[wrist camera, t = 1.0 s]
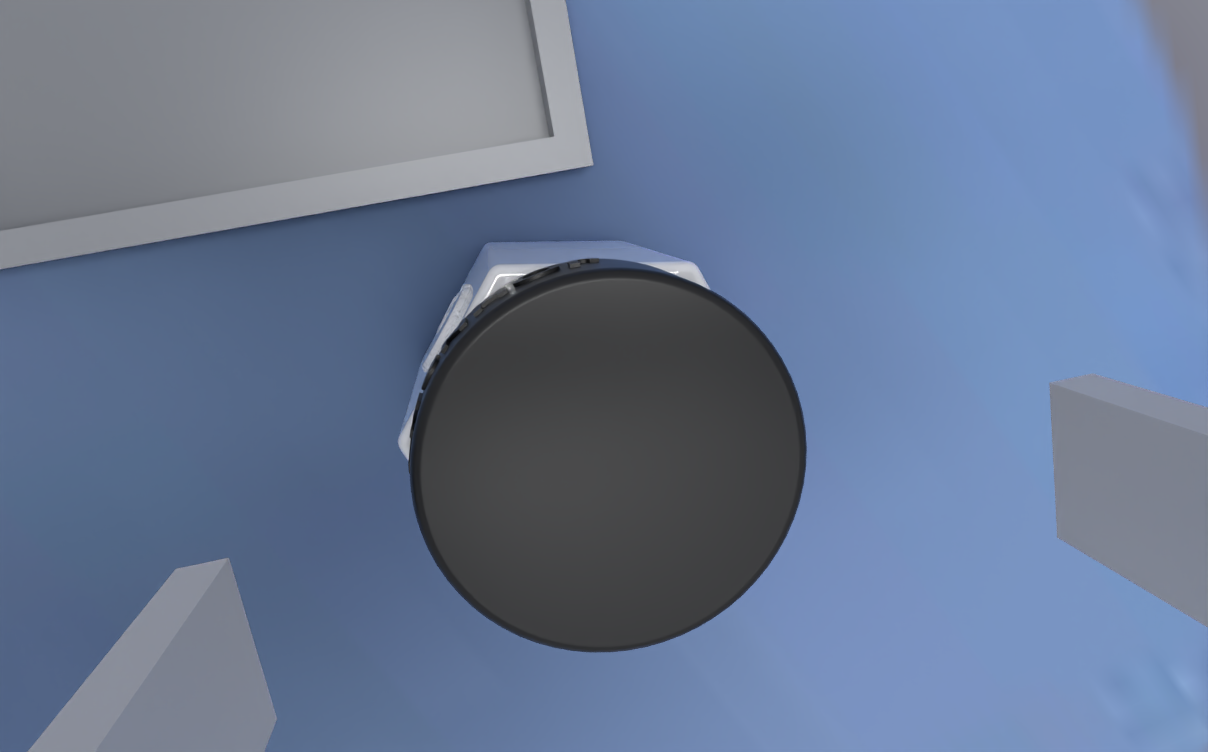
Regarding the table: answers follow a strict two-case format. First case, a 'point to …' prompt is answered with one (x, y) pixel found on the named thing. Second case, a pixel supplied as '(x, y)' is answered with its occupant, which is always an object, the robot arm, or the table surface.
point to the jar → (600, 445)
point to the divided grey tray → (267, 111)
